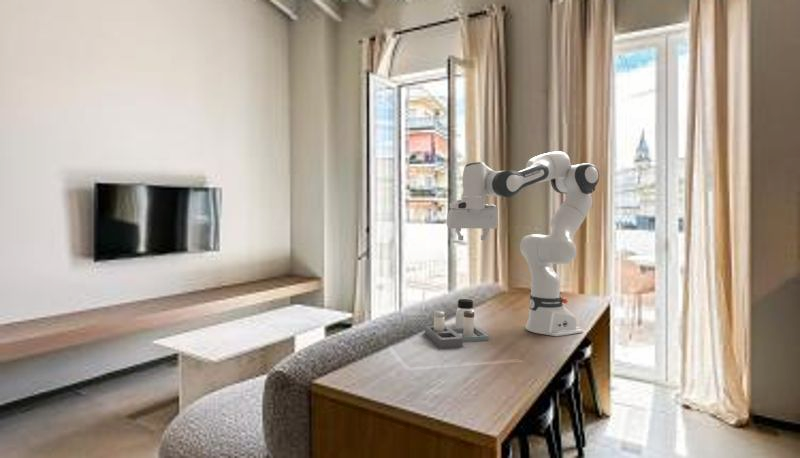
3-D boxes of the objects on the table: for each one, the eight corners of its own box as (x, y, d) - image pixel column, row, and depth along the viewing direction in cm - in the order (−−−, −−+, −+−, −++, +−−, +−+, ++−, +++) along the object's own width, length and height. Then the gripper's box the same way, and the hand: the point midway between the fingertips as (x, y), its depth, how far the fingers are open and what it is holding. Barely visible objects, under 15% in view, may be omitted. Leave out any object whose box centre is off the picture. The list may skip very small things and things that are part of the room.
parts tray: (474, 333, 192) (475, 327, 192) (488, 342, 181) (488, 335, 181) (448, 334, 189) (449, 328, 189) (460, 344, 178) (460, 337, 178)
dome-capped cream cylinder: (441, 335, 185) (442, 310, 185) (445, 338, 181) (446, 313, 181) (432, 335, 184) (432, 311, 184) (435, 338, 180) (436, 313, 180)
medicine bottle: (472, 331, 195) (473, 301, 195) (455, 329, 197) (456, 300, 196) (473, 326, 202) (474, 298, 202) (456, 325, 204) (457, 297, 203)
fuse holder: (421, 335, 187) (421, 325, 187) (445, 334, 190) (445, 324, 190) (438, 352, 168) (439, 340, 168) (465, 350, 171) (466, 339, 170)
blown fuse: (470, 335, 187) (471, 310, 187) (475, 338, 184) (476, 313, 183) (461, 335, 186) (462, 311, 186) (465, 338, 183) (466, 313, 182)
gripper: (494, 204, 193) (492, 239, 194) (445, 203, 187) (444, 239, 188) (501, 205, 187) (500, 240, 188) (451, 204, 181) (450, 241, 182)
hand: (472, 240), depth 188 cm, fingers open, 8 cm apart
